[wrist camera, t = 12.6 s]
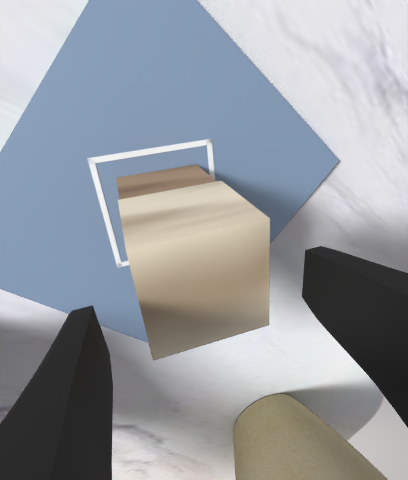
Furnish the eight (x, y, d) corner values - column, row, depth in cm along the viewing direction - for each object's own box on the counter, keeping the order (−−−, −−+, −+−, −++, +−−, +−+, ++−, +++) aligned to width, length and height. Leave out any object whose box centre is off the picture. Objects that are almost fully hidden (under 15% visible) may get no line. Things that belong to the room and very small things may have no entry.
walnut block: (203, 234, 20) (228, 270, 16) (132, 249, 19) (141, 292, 15) (195, 164, 18) (223, 186, 14) (115, 177, 17) (120, 205, 13)
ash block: (227, 265, 16) (268, 324, 12) (139, 288, 15) (153, 360, 11) (221, 180, 14) (270, 218, 10) (117, 200, 13) (125, 250, 9)
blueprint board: (176, 347, 24) (178, 353, 24) (-61, 259, 16) (-66, 265, 16) (333, 158, 21) (340, 160, 20) (130, -67, 13) (131, -73, 12)
